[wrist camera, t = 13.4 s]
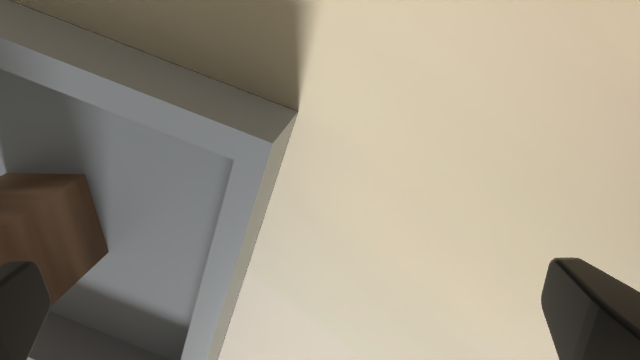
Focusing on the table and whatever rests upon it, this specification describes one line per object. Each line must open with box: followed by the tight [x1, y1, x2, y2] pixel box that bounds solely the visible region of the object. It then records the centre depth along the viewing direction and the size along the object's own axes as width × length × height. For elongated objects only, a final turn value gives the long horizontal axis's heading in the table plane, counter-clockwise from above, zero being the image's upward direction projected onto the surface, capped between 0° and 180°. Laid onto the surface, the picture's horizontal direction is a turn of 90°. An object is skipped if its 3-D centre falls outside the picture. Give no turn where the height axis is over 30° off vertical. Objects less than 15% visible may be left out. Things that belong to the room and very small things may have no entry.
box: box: [0, 0, 298, 360], centre depth 22 cm, size 18×18×4 cm
